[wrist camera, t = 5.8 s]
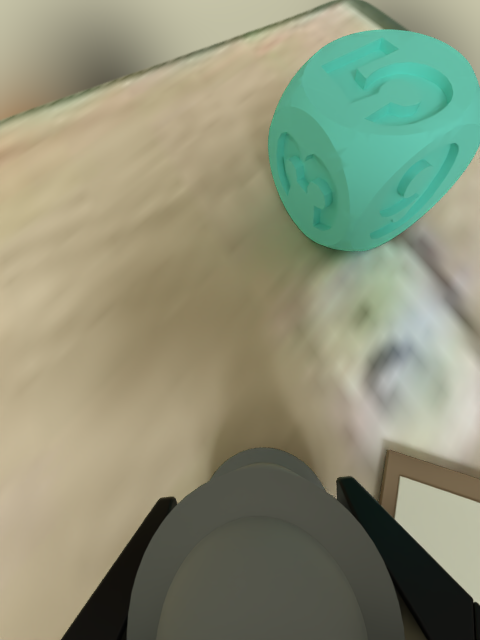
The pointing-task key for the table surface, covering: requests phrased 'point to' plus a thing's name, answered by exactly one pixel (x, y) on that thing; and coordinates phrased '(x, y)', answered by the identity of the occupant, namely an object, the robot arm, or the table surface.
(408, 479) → the game board
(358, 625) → the pawn
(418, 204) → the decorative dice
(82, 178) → the table surface
